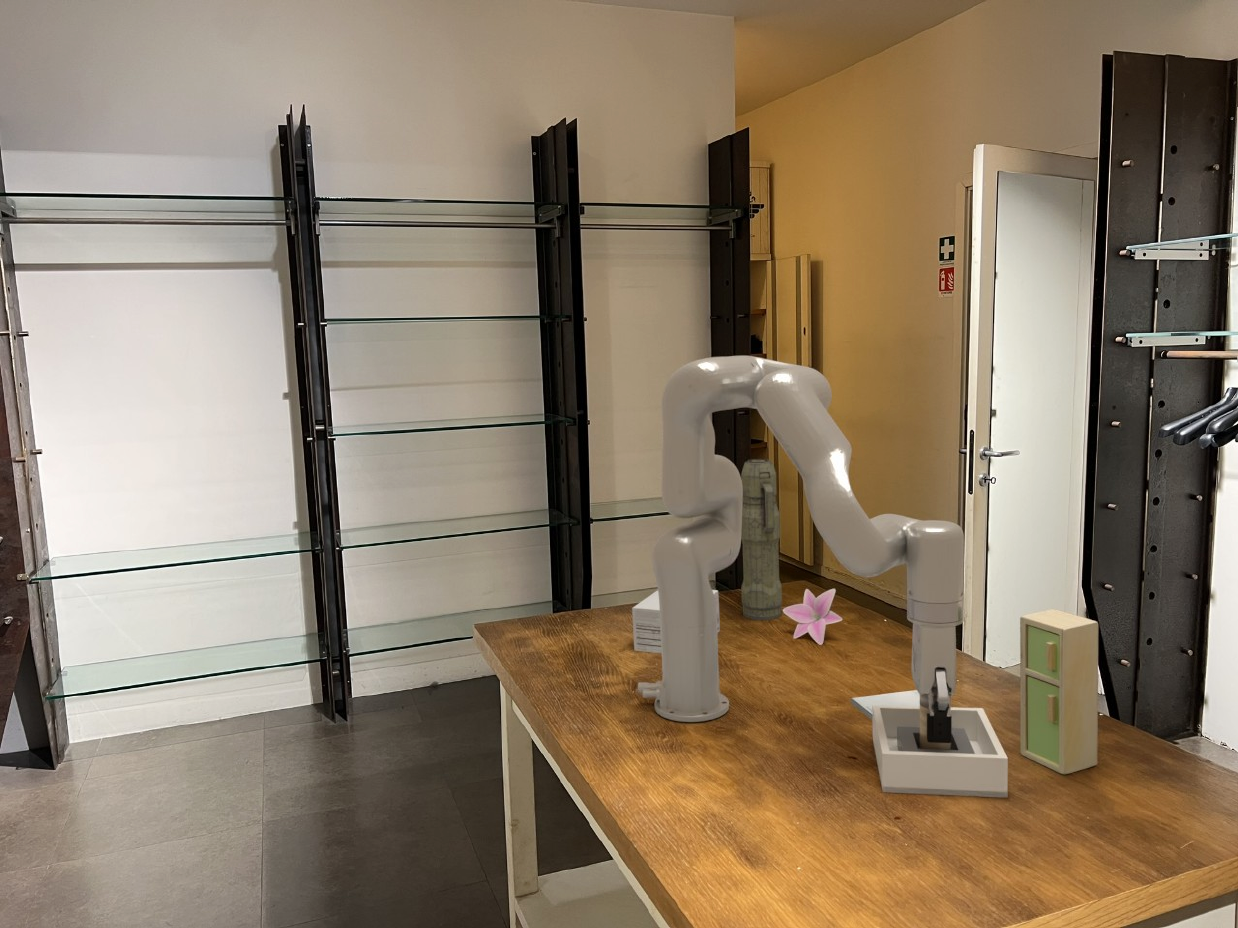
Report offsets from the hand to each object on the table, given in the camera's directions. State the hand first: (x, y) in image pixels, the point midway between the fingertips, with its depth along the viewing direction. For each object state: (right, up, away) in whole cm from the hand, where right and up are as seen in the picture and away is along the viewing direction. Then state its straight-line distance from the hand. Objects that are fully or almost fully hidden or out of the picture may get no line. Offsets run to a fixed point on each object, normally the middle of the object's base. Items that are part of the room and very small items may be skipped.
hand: (935, 729), depth 134 cm
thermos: (-13, +4, +77) cm, 79 cm away
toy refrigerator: (+18, -5, +1) cm, 18 cm away
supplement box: (-33, +1, +62) cm, 70 cm away
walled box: (0, -5, +1) cm, 5 cm away
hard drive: (+1, -3, +22) cm, 23 cm away
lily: (-5, +2, +61) cm, 61 cm away
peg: (0, -5, +1) cm, 5 cm away
